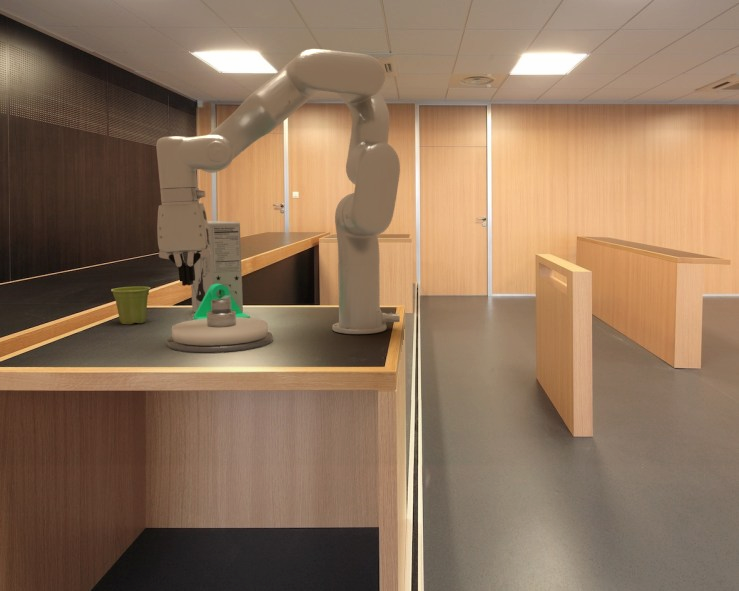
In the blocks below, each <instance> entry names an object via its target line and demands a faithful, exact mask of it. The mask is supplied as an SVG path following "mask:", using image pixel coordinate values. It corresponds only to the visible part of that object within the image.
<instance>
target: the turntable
mask: <svg viewBox="0 0 739 591" xmlns="http://www.w3.org/2000/svg"><path fill="white" fill-rule="evenodd" d="M221 299H230V300H231V296H223V297H222V298H221ZM268 332H269V323H268V322H267V321H266V320H264V319H261V318H254V317H250V318H244V317H236V325H235V326H231V327H219V328H217V327H208V326H207V318H205V319H197V320H193V319H192V320H185V321H182V322H178V323H175V324H173V325H172V327H171V337H172V340H173V341H175V342H177V343H181V344H187V345H202V346H213V345H231V344H240V343H247V342H252V341H256V340H260V339H262V338H265V337H266V336H267V335H268Z"/></svg>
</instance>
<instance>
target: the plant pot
mask: <svg viewBox="0 0 739 591" xmlns="http://www.w3.org/2000/svg"><path fill="white" fill-rule="evenodd" d="M150 290H151V287H149V286H123V287H117V288H111V290H110V291H111V293H112V295H113V298H114V299H115V304H116V308H117V314H118V318H119V323H120V324H122V325H132V324H133V325H134V324H135V323H137V324H142V323H146V321H147V311H148V310H147V307H148V297H149V294H150Z"/></svg>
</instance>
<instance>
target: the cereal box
mask: <svg viewBox="0 0 739 591" xmlns="http://www.w3.org/2000/svg"><path fill="white" fill-rule="evenodd" d="M207 222H208V228H209V235H210V246H209V247H210V250H211V254H210V255H208V256H205V257H201V258H200V259H199V260H198V261H197V262H196V264H195V265H194V269H195V281H193V284H192V285H190V287H191V289H190V290H191V310H192V312H193V313H194V314H195V313H196V311H197V309H198V307H199V305H200V304H201V302H202V300H203V298H204V296H205V295H206V293H207V291H208V289H209V288H210V286H211V285H213V284H221V285H224V286H226V287H227V288H228V290H229V293H230V295H231V296H232V298H233V299H234V301H235V302H236V304H237V305H238V307H239V308H240V310H241V311H242V313H244V308H243V307H244V306H243V274H242V271H243V270H242V246H241V240H242V239H241V222H240V221H223V220H222V221H221V220H207ZM201 251H202V250H201ZM201 251H197V253H198V252H201ZM220 294H221V290H218V291H217V293H216V295H217V297H218V296H220Z"/></svg>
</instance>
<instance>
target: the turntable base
mask: <svg viewBox="0 0 739 591" xmlns="http://www.w3.org/2000/svg"><path fill="white" fill-rule="evenodd" d="M273 340H274V336H273V333H271V332H270V331H268V335H267V336H266V337H265V338H262V339H260V340H256V341H252V342H247V343H240V344H231V345H213V346H202V345H187V344H181V343H177V342H175V341H173V340H172V336H170V337H169V338H168V339H167V342H166V343H167V344H166V345H167V347H168V348H169V349H170V350H173V351H178V352H183V353H190V354H191V353H195V354H215V353H214V352H224V353H233V352H243V351H248V350H249V351H250V350H255V349H258V348H262V347H266V346H268V345H269V344H271V343H272V342H273Z"/></svg>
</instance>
